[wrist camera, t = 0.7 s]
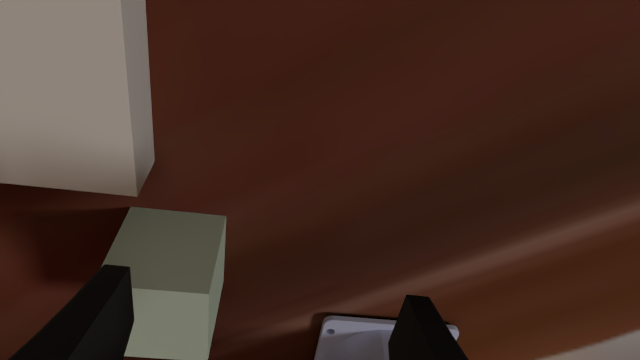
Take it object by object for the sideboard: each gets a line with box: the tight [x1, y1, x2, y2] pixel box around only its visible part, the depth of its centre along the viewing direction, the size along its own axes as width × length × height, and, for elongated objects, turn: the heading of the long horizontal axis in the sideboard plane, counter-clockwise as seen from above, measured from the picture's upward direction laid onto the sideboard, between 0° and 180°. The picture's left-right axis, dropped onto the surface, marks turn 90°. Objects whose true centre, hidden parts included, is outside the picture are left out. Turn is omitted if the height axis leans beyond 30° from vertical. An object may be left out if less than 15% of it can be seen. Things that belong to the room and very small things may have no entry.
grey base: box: [0, 0, 155, 197], centre depth 18 cm, size 8×8×3 cm
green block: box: [101, 207, 226, 360], centre depth 22 cm, size 4×4×5 cm
